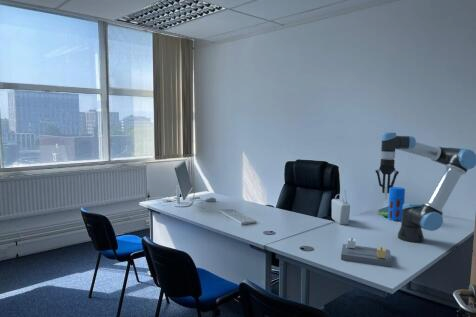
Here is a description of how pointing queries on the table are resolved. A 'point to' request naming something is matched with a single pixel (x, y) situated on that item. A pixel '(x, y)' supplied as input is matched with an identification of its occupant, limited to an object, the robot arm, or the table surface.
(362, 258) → the board
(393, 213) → the thermos
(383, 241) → the table surface
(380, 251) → the fader amber
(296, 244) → the table surface
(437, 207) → the robot arm
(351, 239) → the fader grey
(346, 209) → the white jerry can
